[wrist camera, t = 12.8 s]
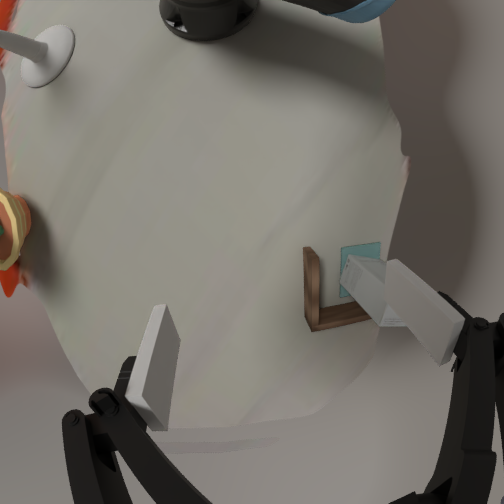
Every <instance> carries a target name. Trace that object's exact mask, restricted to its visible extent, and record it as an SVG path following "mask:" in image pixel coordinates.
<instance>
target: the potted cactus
mask: <svg viewBox="0 0 504 504" xmlns="http://www.w3.org/2000/svg"><path fill="white" fill-rule="evenodd" d="M30 227H31V214H30V210H29V208H28V206H27V203H26V201H25V200H23V199H22V198H21V197H20V196H19V195H15V196H13V195H11V194H10V193H9V192H5V191H3V190H2V189H1V188H0V270H4V271H6V270H7V269H8V268H9V267H10V266H11V265H12V264H13V263H14V262H15V261H16V260H17V259H18V257H19V253H20V249H21V247H22V245H23V242H24V238H25V237H26V236H27V235H28V234H29V231H30Z"/></svg>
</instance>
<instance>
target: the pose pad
mask: <svg viewBox="0 0 504 504" xmlns="http://www.w3.org/2000/svg"><path fill="white" fill-rule="evenodd" d="M380 244H381V243H380V242H377V243H370V244H363V245H357V246H350V247H343V248H341V275H342V272H343V269H344V266H345V264H346V260H347V257H348V255H349V254H351V255H356V256H364V257H369V258H375V259H379V258H380ZM340 278H341V277H340ZM346 296H351V295H350V294H349V292H348V291H347V290H346V289H345V288H344V287H343V286H342V285H341V284H340V298H341V297H346Z"/></svg>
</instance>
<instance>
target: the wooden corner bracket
mask: <svg viewBox="0 0 504 504" xmlns="http://www.w3.org/2000/svg"><path fill="white" fill-rule="evenodd" d="M303 262H304V309H305V318H306V321H307V323H308V325H309V327H310V329H311V332H315V331H320V330H325V329H329V328H334V327H339V326H343V325H348V324H352V323H356V322H361V321H365V320H369V319H372V318H371V317H370V316H369V314H368V313H367V312H366V311H365V310H364V309H363V308H362V307H361V306H360V305H359V303H358V302H357V301H355V302H350V303H345V304H340V305H335V306H330V307H325V308H320V309H319V257H318V256H317V255H316V253H315V252H314V251H313V250H312V249H311V247H303Z"/></svg>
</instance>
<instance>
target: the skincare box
mask: <svg viewBox="0 0 504 504" xmlns="http://www.w3.org/2000/svg"><path fill="white" fill-rule="evenodd" d="M386 264H387V263H385V262H384V261H383V260H380V259H375V258H369V257H364V256H356V255H351V254H349V255H348V257H347V260H346V264H345V266H344V269H343V272H342V275H341V278H340V280H339V282H340V284H341V285H342V286H343V287H344V288H345V289H346V290H347V291H348V292H349V294H350V295H351V296H352V297H353V298H354V299H355V300H356V301H357V302H358V303H359V305H360V306H361V307H362V308H363V309H364V310H365V311H366V312H367V313H368V314H369V316H370V317H371V318H372V319H373V320H374V321H375V322H376V324H377V325H378V326H379V327H407V326H406V325H405V323H404V322H403V321H402V320H401V319H400V318H399V316H398V315H397V314H396V313H395V312H394V311H393V309H392V308H391V307H390V306H389V305H388V304H387V302H386V301H385V300H384V289H385V278H386Z"/></svg>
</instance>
